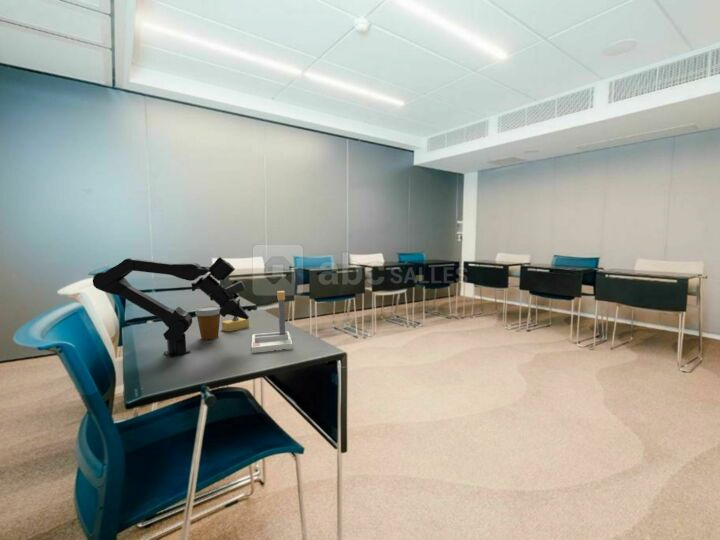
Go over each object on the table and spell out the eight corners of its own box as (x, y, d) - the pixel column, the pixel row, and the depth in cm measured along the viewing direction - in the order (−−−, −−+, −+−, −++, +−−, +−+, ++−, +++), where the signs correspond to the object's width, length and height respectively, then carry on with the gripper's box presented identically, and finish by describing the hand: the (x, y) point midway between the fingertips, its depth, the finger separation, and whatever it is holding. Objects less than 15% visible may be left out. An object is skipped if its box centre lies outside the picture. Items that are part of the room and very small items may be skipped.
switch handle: (279, 338, 125) (277, 292, 123) (278, 336, 128) (277, 291, 126) (286, 338, 125) (284, 292, 123) (285, 335, 128) (284, 290, 126)
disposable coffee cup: (222, 339, 131) (220, 309, 130) (195, 342, 128) (193, 311, 126) (222, 333, 140) (221, 305, 139) (197, 335, 136) (196, 307, 135)
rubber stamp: (228, 332, 141) (227, 304, 140) (221, 329, 145) (220, 302, 144) (249, 327, 149) (248, 300, 148) (242, 324, 153) (241, 299, 151)
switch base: (251, 352, 116) (251, 342, 115) (252, 339, 131) (252, 330, 131) (292, 348, 120) (292, 339, 120) (288, 336, 135) (288, 327, 135)
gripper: (228, 276, 110) (264, 307, 114) (232, 271, 128) (263, 297, 132) (203, 301, 108) (240, 331, 113) (211, 292, 126) (243, 318, 131)
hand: (248, 318), depth 122 cm, fingers closed
